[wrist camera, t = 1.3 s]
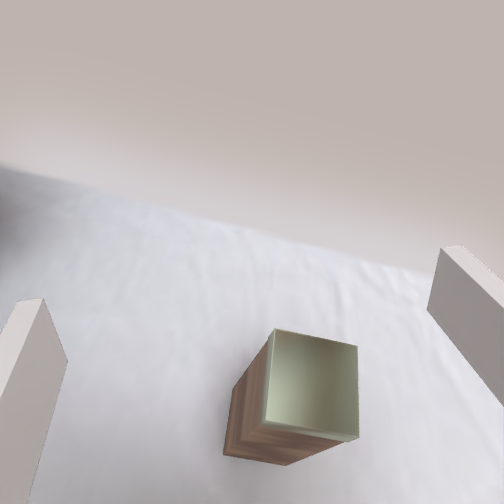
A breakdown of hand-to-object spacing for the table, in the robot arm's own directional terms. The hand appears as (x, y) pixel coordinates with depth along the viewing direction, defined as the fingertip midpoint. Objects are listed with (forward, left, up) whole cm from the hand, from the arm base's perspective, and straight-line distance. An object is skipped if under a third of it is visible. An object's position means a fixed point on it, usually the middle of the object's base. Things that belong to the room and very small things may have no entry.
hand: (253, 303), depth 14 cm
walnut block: (+4, +4, -22) cm, 23 cm away
